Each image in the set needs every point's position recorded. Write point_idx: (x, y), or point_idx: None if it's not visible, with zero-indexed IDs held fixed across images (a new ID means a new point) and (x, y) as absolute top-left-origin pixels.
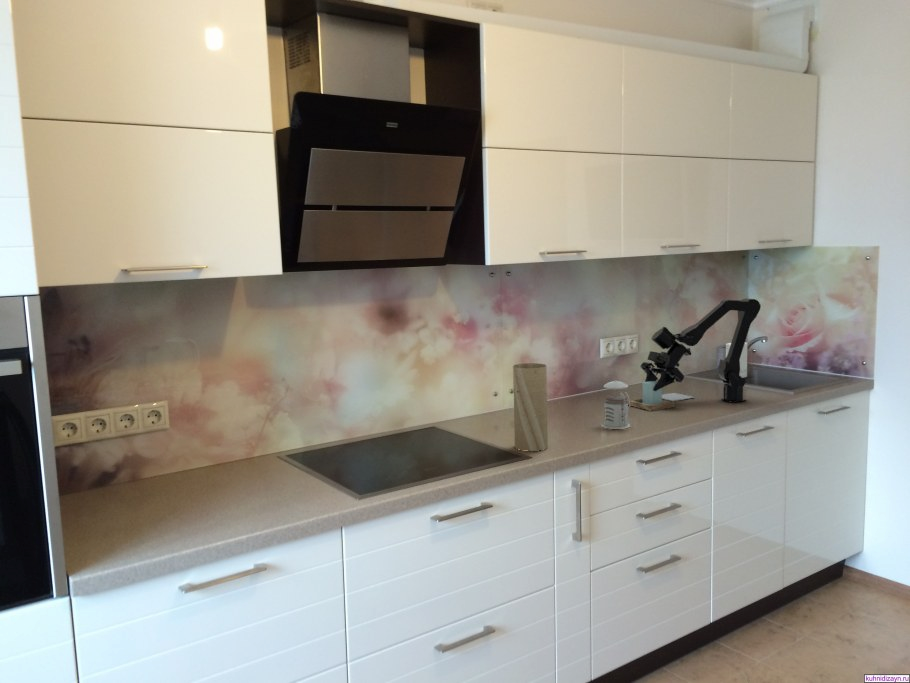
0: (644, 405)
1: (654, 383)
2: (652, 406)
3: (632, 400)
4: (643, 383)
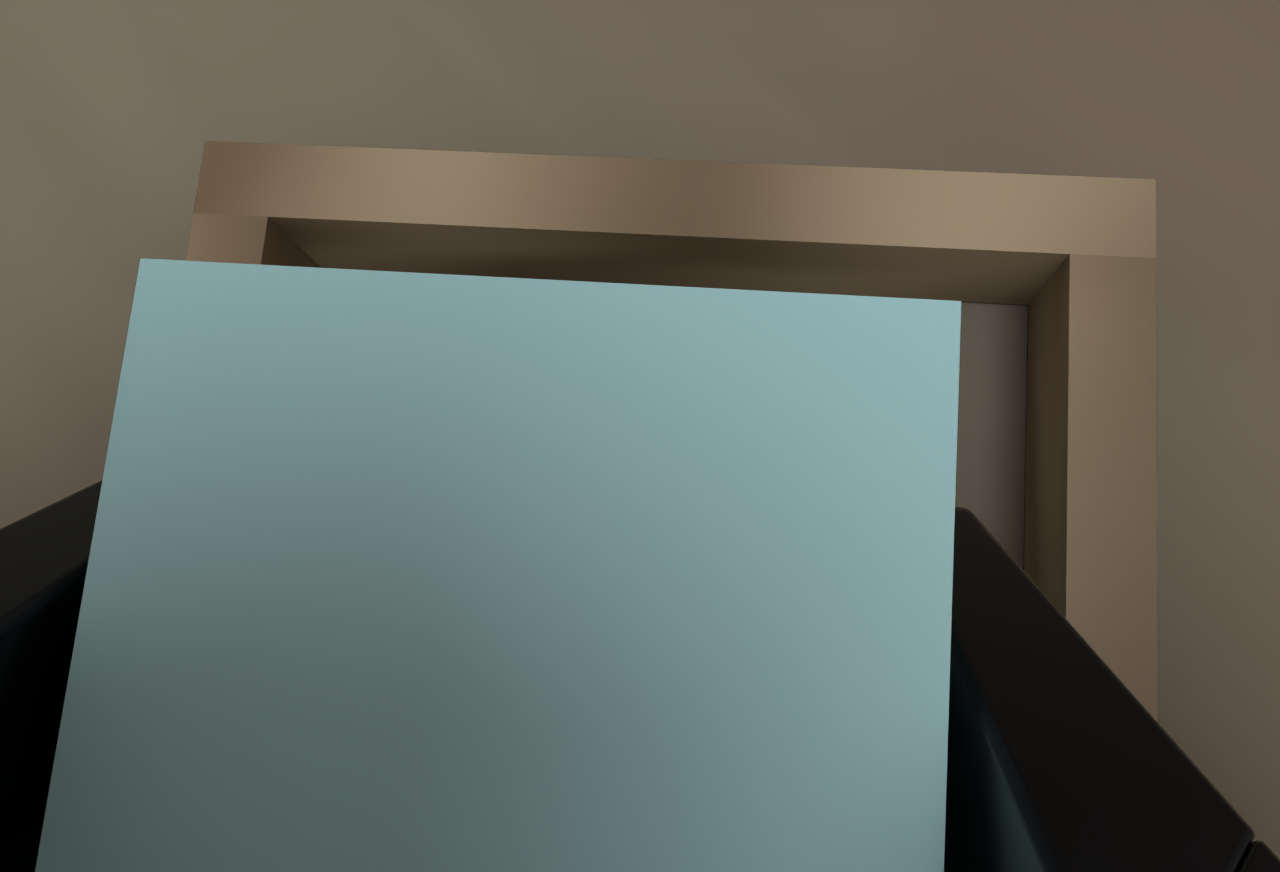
0: (423, 159)
1: (185, 570)
2: (206, 243)
3: (1076, 287)
4: (857, 317)
